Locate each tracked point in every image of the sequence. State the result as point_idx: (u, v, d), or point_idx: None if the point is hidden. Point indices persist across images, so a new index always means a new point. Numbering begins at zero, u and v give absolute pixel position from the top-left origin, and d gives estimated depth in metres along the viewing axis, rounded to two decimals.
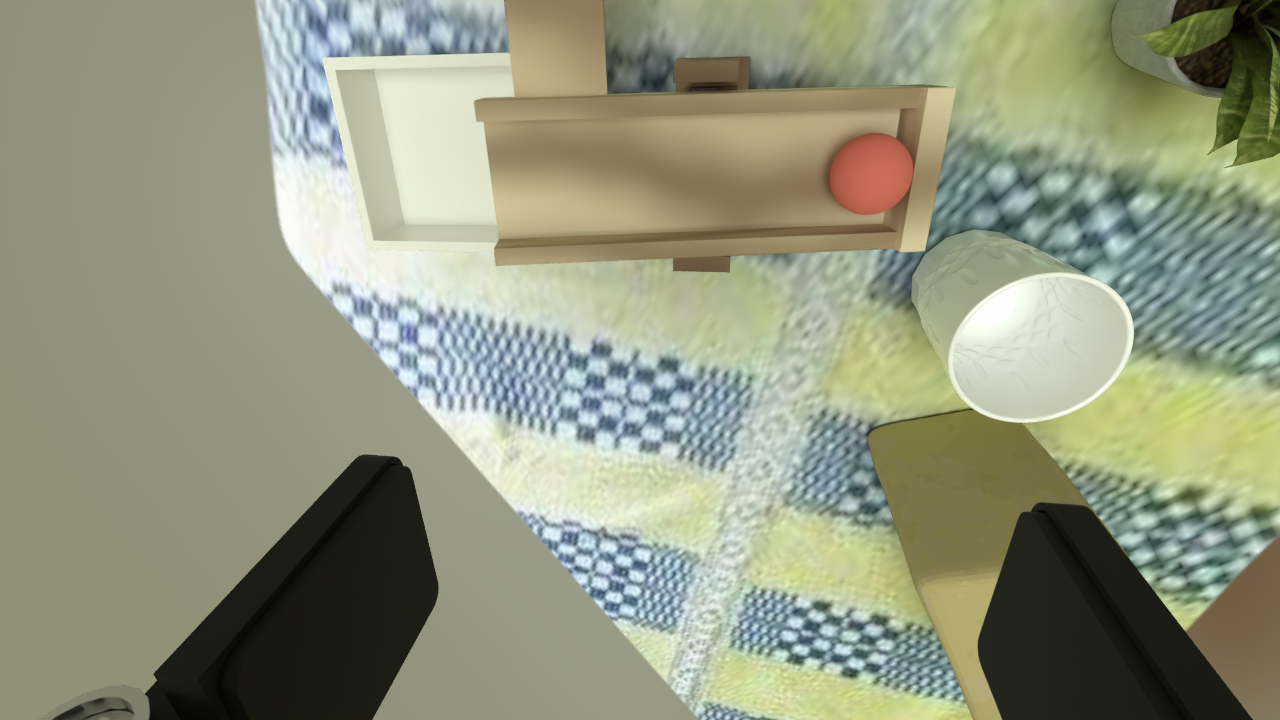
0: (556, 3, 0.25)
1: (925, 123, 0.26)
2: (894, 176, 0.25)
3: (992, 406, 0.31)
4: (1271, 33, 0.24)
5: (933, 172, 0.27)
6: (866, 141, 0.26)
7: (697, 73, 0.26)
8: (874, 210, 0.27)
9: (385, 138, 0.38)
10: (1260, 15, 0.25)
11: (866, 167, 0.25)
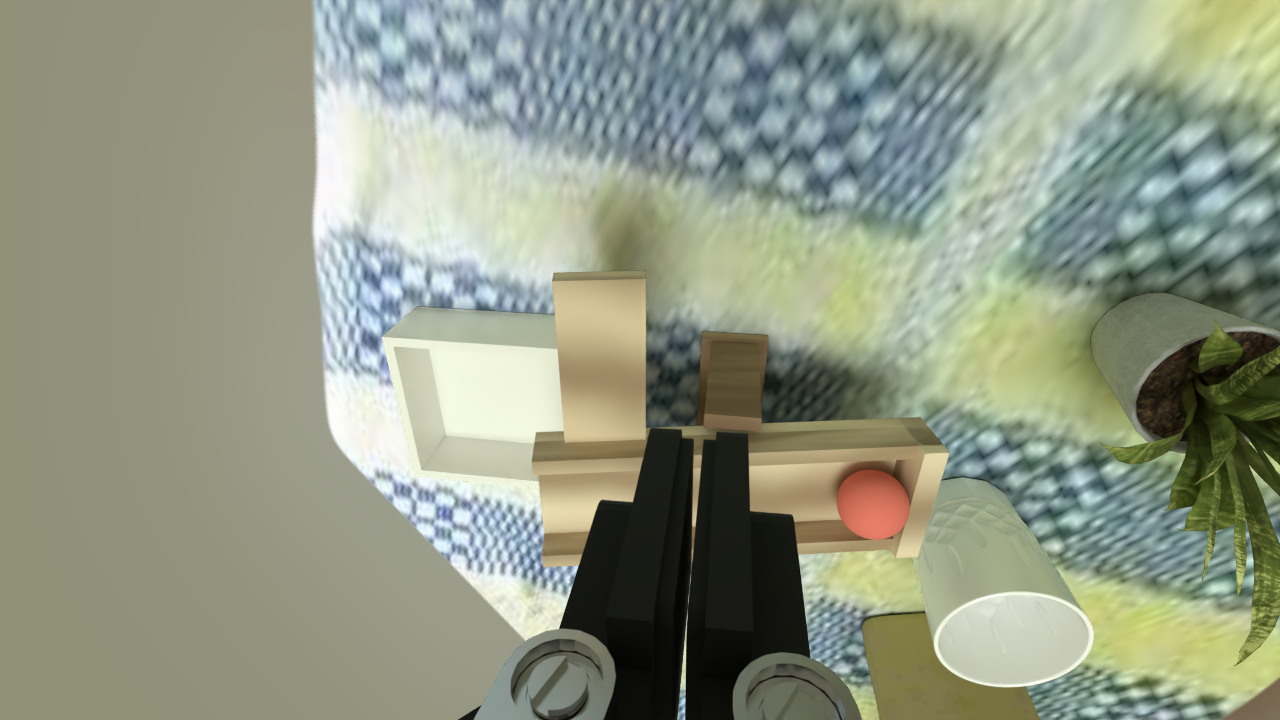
0: (605, 381, 0.28)
1: (921, 475, 0.30)
2: (893, 524, 0.29)
3: (971, 667, 0.35)
4: None
5: (927, 507, 0.31)
6: (870, 490, 0.30)
7: (725, 423, 0.30)
8: (875, 539, 0.31)
9: (431, 373, 0.41)
10: None
11: (868, 516, 0.29)
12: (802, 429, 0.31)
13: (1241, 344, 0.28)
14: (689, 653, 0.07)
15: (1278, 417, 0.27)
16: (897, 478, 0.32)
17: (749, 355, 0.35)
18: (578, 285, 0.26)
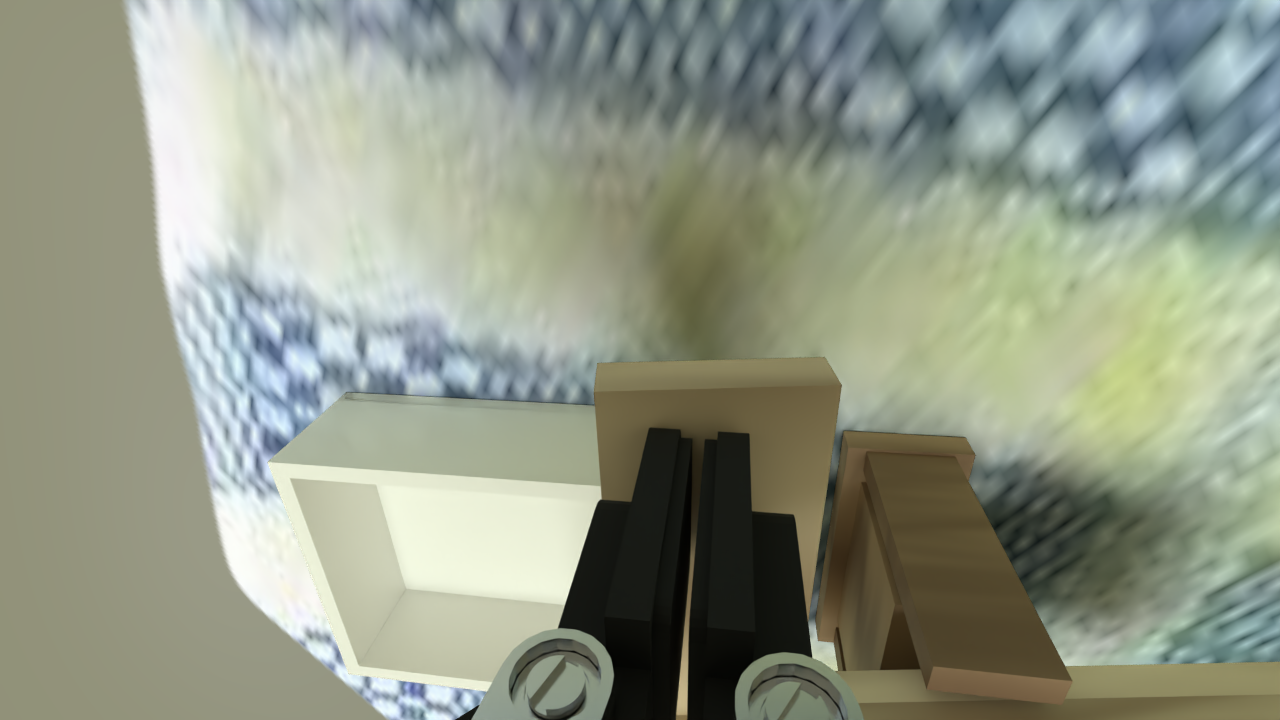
0: None
1: None
2: None
3: None
4: None
5: None
6: None
7: (979, 685, 0.13)
8: None
9: (375, 499, 0.25)
10: None
11: None
12: (1143, 691, 0.14)
13: None
14: (691, 653, 0.07)
15: None
16: None
17: (953, 486, 0.19)
18: (662, 401, 0.10)
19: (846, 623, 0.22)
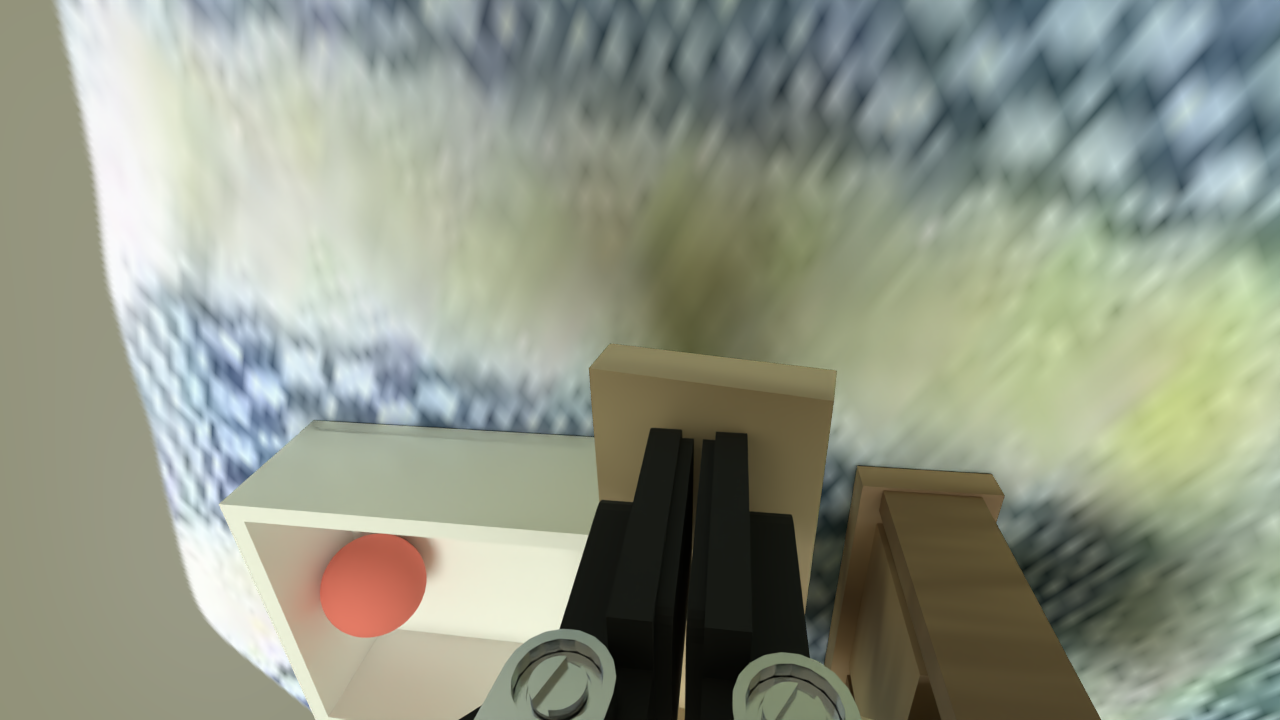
0: None
1: None
2: None
3: None
4: None
5: None
6: (383, 535, 0.22)
7: None
8: None
9: (347, 534, 0.23)
10: None
11: None
12: None
13: None
14: (689, 653, 0.07)
15: None
16: None
17: (981, 533, 0.17)
18: (650, 388, 0.10)
19: (859, 675, 0.20)
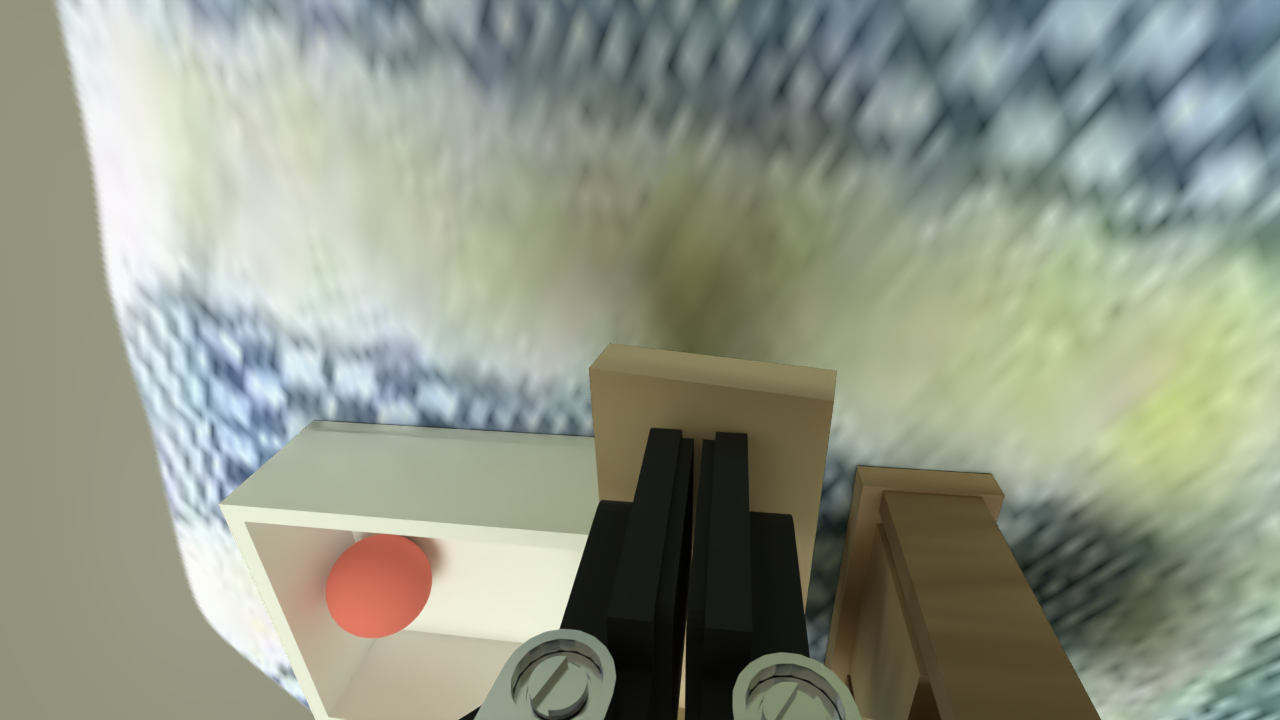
0: None
1: None
2: None
3: None
4: None
5: None
6: (386, 535, 0.22)
7: None
8: None
9: (347, 534, 0.23)
10: None
11: None
12: None
13: None
14: (689, 653, 0.07)
15: None
16: None
17: (981, 533, 0.17)
18: (650, 388, 0.10)
19: (859, 675, 0.20)
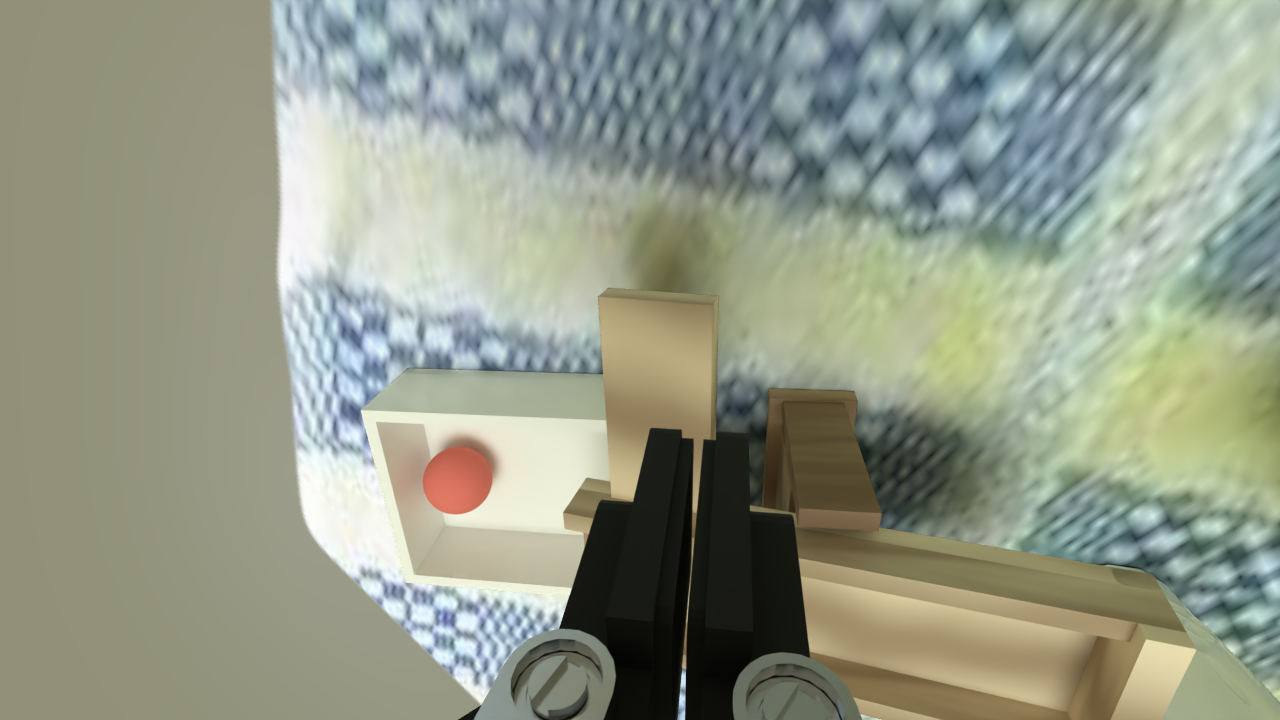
0: None
1: (1137, 672, 0.18)
2: None
3: None
4: None
5: None
6: None
7: (828, 520, 0.22)
8: None
9: (426, 450, 0.33)
10: None
11: None
12: (937, 549, 0.21)
13: None
14: (689, 653, 0.07)
15: None
16: (1097, 661, 0.20)
17: (837, 419, 0.27)
18: (628, 305, 0.21)
19: None
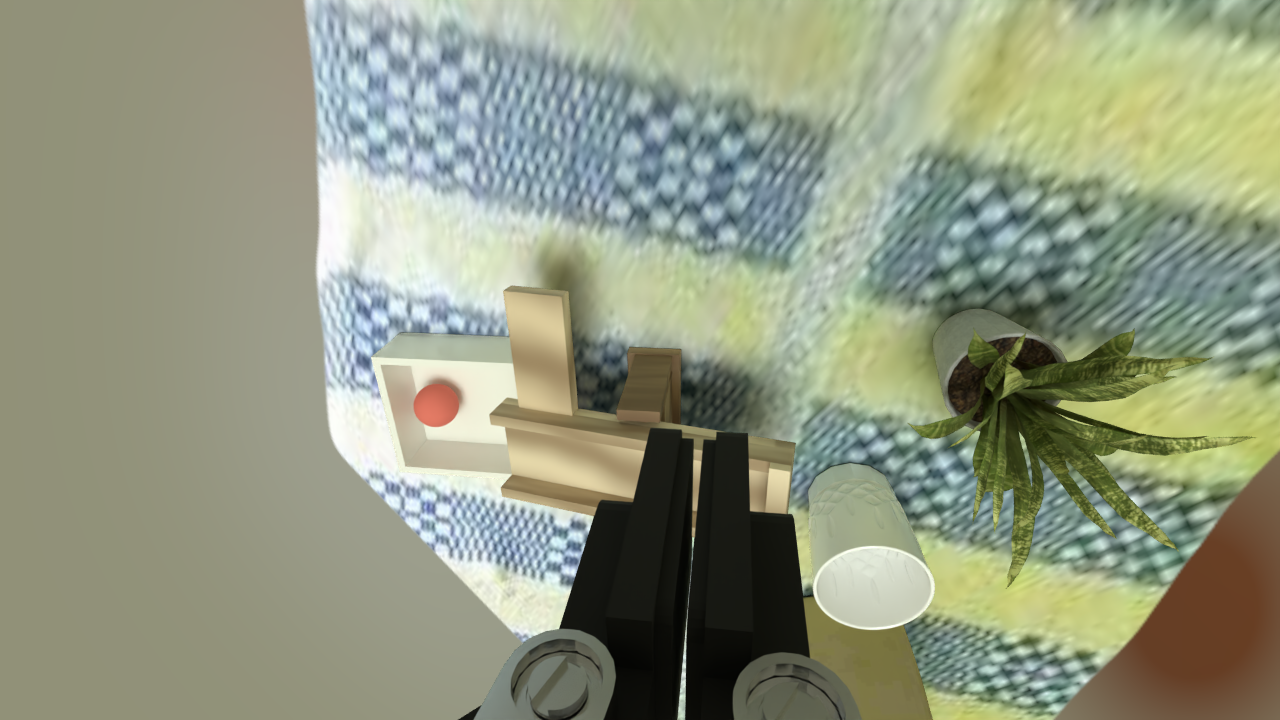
0: (541, 366, 0.39)
1: (770, 487, 0.35)
2: None
3: (849, 615, 0.44)
4: (1006, 409, 0.37)
5: None
6: None
7: (632, 416, 0.39)
8: None
9: (413, 386, 0.50)
10: None
11: None
12: (689, 432, 0.38)
13: None
14: (689, 653, 0.07)
15: (1040, 401, 0.35)
16: None
17: (662, 365, 0.44)
18: (519, 295, 0.38)
19: None
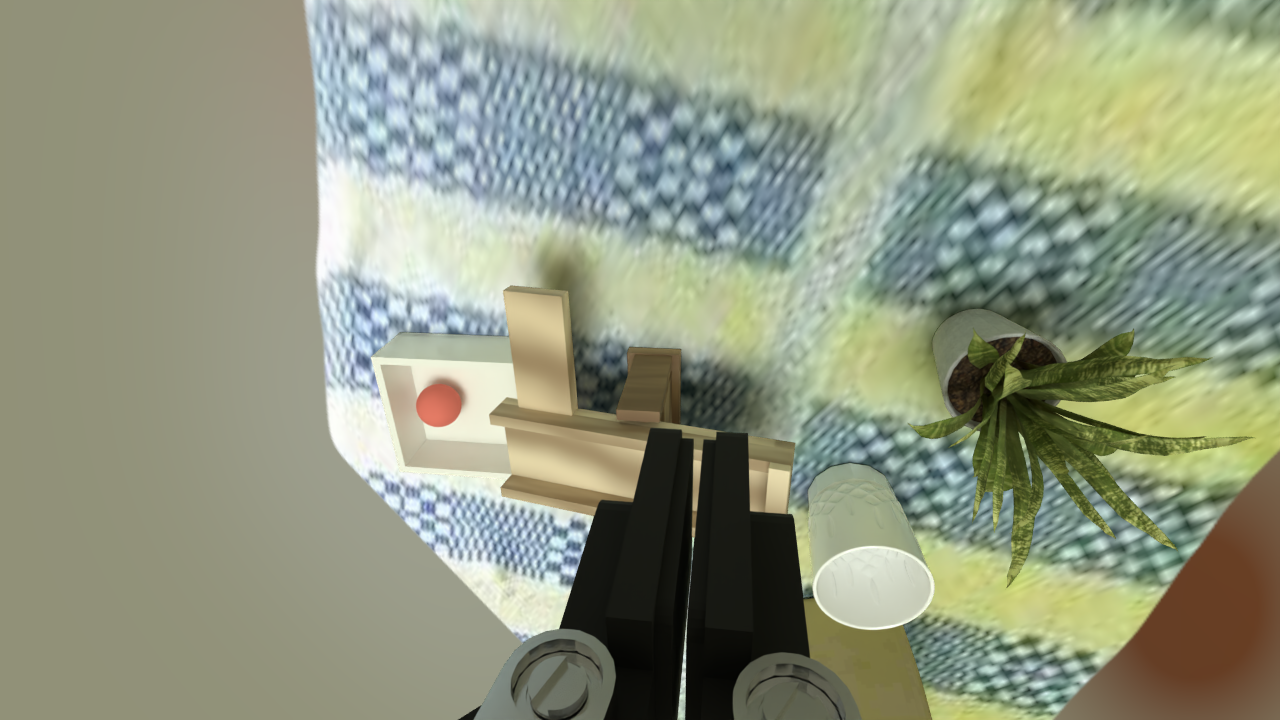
0: (540, 366, 0.39)
1: (769, 487, 0.35)
2: None
3: (849, 615, 0.44)
4: (1006, 409, 0.37)
5: None
6: (436, 384, 0.49)
7: (632, 416, 0.39)
8: None
9: (413, 386, 0.50)
10: None
11: None
12: (689, 432, 0.38)
13: None
14: (689, 653, 0.07)
15: (1040, 401, 0.35)
16: None
17: (662, 365, 0.44)
18: (519, 295, 0.38)
19: None
